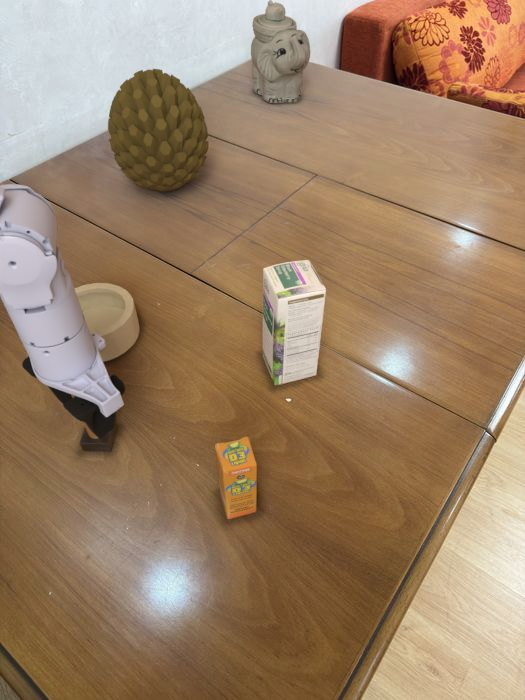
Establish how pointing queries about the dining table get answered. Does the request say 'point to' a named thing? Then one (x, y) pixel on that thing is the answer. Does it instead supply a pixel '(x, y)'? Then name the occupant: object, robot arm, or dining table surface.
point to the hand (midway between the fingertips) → (89, 415)
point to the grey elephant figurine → (278, 55)
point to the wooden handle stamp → (97, 440)
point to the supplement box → (237, 477)
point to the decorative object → (157, 131)
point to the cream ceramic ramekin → (109, 316)
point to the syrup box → (292, 320)
